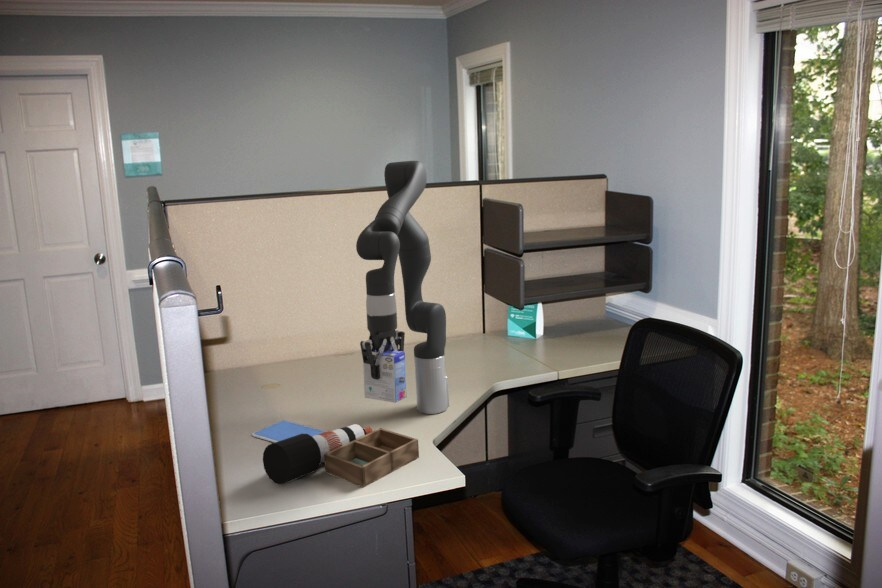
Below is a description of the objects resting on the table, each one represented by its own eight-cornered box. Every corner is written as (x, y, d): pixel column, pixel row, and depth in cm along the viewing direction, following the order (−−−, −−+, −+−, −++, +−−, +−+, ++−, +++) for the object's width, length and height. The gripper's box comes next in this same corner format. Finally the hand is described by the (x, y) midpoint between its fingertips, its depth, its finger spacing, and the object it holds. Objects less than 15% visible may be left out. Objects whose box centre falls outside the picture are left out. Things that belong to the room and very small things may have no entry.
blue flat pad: (250, 437, 208) (250, 433, 208) (284, 422, 218) (283, 418, 218) (297, 452, 197) (296, 447, 197) (330, 435, 207) (329, 431, 206)
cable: (375, 455, 202) (388, 427, 198) (282, 492, 175) (295, 461, 171) (351, 432, 207) (364, 405, 203) (258, 466, 180) (270, 435, 176)
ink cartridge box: (408, 396, 186) (405, 342, 183) (396, 403, 182) (393, 347, 179) (376, 392, 191) (373, 338, 188) (363, 398, 186) (360, 343, 184)
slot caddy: (381, 445, 197) (380, 427, 196) (419, 457, 189) (418, 439, 188) (325, 472, 183) (324, 454, 182) (363, 487, 174) (362, 468, 173)
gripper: (390, 304, 190) (393, 366, 193) (350, 314, 179) (354, 380, 182) (411, 307, 185) (414, 371, 188) (371, 318, 174) (375, 385, 177)
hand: (384, 375), depth 185 cm, fingers closed on ink cartridge box, 6 cm apart
